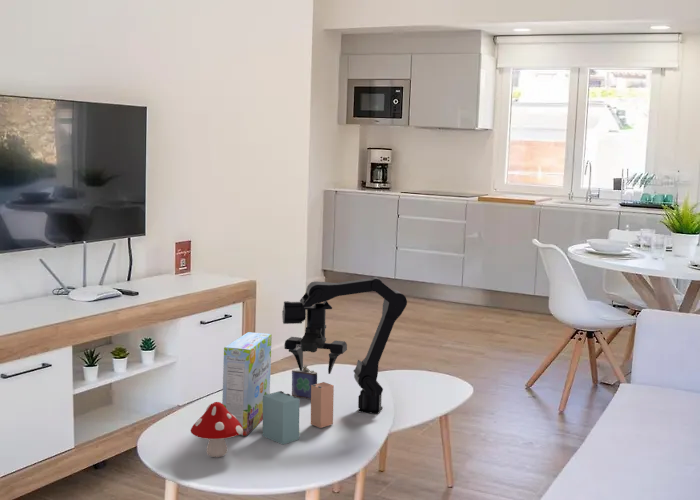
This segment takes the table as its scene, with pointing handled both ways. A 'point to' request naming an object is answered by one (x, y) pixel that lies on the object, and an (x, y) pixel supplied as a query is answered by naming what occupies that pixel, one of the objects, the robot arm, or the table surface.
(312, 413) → the stub
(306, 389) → the flask
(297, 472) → the table surface
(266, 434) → the teal block
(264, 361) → the snack box
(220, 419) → the decorative mushroom
